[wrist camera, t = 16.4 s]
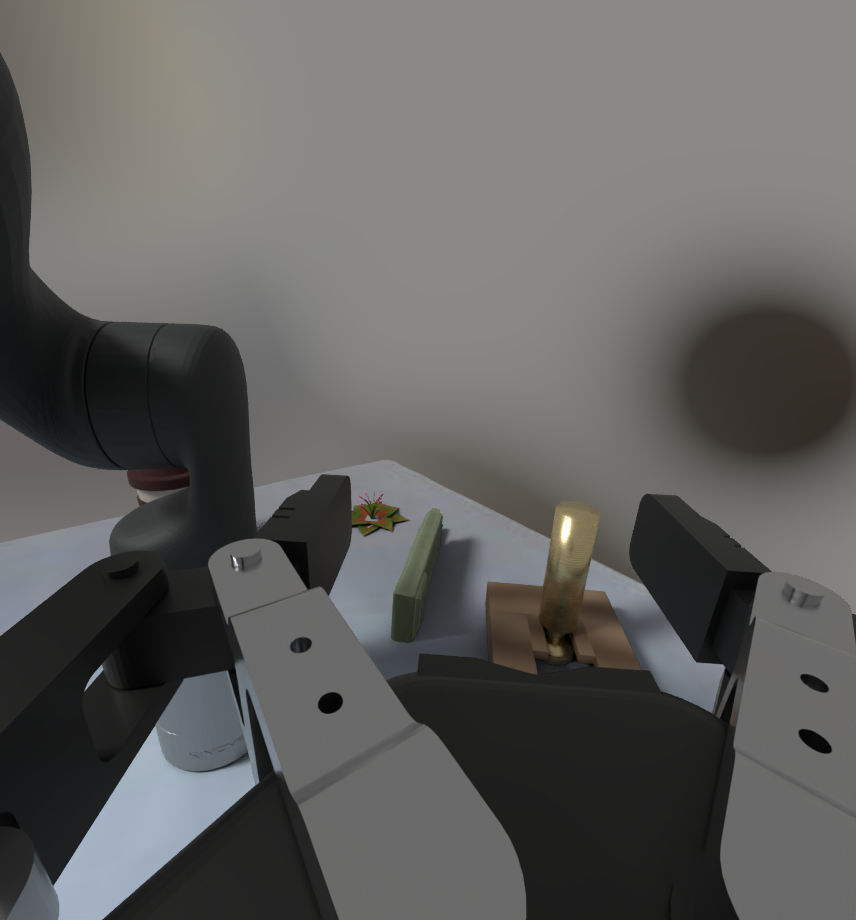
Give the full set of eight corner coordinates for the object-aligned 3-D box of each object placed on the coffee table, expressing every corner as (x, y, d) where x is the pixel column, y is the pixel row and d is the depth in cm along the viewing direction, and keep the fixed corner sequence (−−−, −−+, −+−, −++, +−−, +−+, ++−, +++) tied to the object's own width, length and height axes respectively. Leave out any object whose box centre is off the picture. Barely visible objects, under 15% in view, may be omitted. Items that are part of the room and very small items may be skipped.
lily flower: (360, 547, 65) (360, 520, 64) (323, 517, 74) (322, 492, 72) (421, 524, 72) (422, 500, 71) (381, 499, 81) (381, 477, 79)
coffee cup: (132, 556, 60) (108, 456, 54) (201, 528, 68) (185, 438, 62) (171, 582, 55) (149, 474, 50) (240, 548, 63) (227, 452, 57)
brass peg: (523, 641, 48) (544, 504, 42) (554, 630, 49) (578, 497, 43) (549, 670, 44) (576, 525, 38) (582, 657, 46) (612, 516, 40)
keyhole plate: (673, 786, 34) (683, 758, 33) (495, 766, 35) (499, 737, 33) (599, 613, 52) (604, 591, 51) (485, 603, 53) (487, 581, 52)
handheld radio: (385, 641, 47) (427, 530, 70) (414, 647, 47) (447, 533, 70) (388, 592, 45) (431, 493, 68) (419, 597, 44) (451, 496, 67)
